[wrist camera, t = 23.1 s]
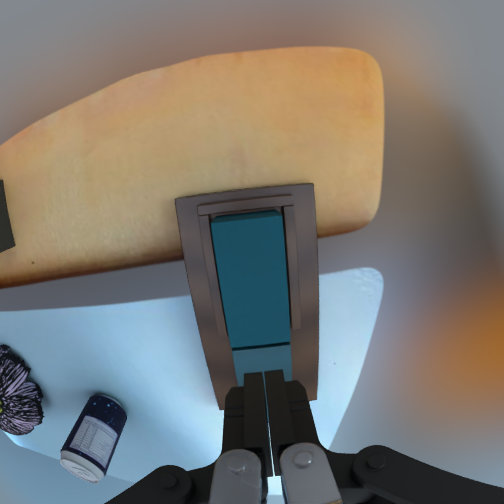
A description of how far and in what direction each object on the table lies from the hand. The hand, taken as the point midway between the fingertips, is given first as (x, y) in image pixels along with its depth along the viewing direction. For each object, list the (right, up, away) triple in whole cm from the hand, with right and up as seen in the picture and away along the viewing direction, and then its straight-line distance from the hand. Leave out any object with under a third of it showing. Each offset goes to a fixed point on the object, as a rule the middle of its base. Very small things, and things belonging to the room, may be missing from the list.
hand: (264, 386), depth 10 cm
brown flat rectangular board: (0, -1, +15) cm, 15 cm away
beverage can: (-19, -15, +19) cm, 31 cm away
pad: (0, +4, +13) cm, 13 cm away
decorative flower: (-38, -15, +19) cm, 45 cm away
